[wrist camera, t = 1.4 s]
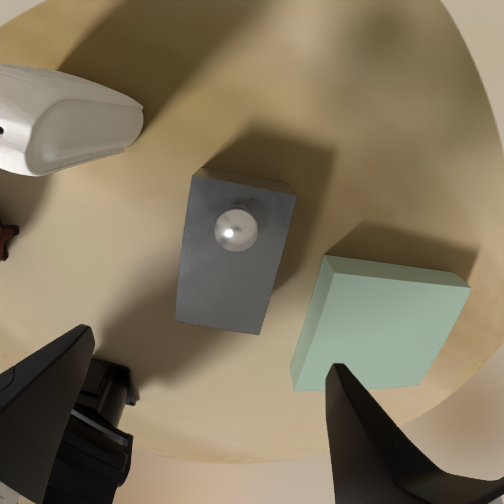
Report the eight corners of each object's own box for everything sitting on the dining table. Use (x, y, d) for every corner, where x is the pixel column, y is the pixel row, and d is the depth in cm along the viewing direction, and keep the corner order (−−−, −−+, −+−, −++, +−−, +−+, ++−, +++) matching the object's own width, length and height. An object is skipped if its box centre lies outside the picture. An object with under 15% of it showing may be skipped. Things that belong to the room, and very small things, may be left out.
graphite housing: (256, 304, 24) (259, 342, 20) (184, 291, 23) (172, 327, 19) (287, 183, 20) (299, 199, 16) (202, 166, 19) (189, 177, 15)
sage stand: (408, 366, 28) (418, 385, 25) (289, 367, 27) (293, 390, 24) (454, 272, 23) (471, 287, 20) (323, 254, 22) (334, 272, 19)
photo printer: (33, 116, 17) (-87, 135, 5) (52, 67, 15) (-67, 55, 4) (130, 160, 19) (11, 208, 7) (155, 104, 17) (44, 85, 6)
